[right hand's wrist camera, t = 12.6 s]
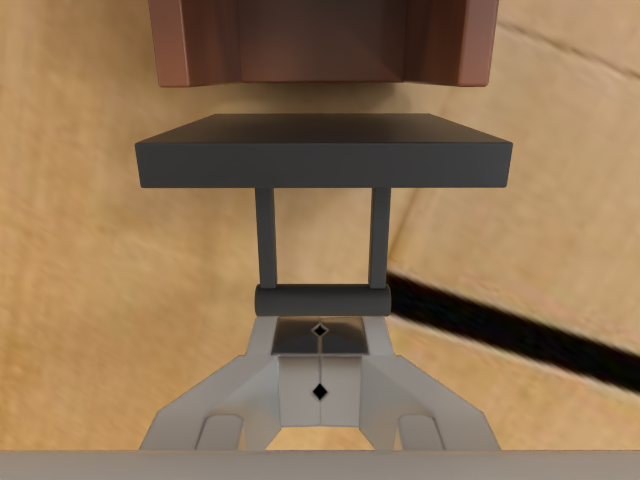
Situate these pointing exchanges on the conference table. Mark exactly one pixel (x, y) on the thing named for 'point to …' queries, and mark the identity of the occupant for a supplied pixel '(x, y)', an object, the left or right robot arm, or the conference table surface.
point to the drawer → (323, 116)
